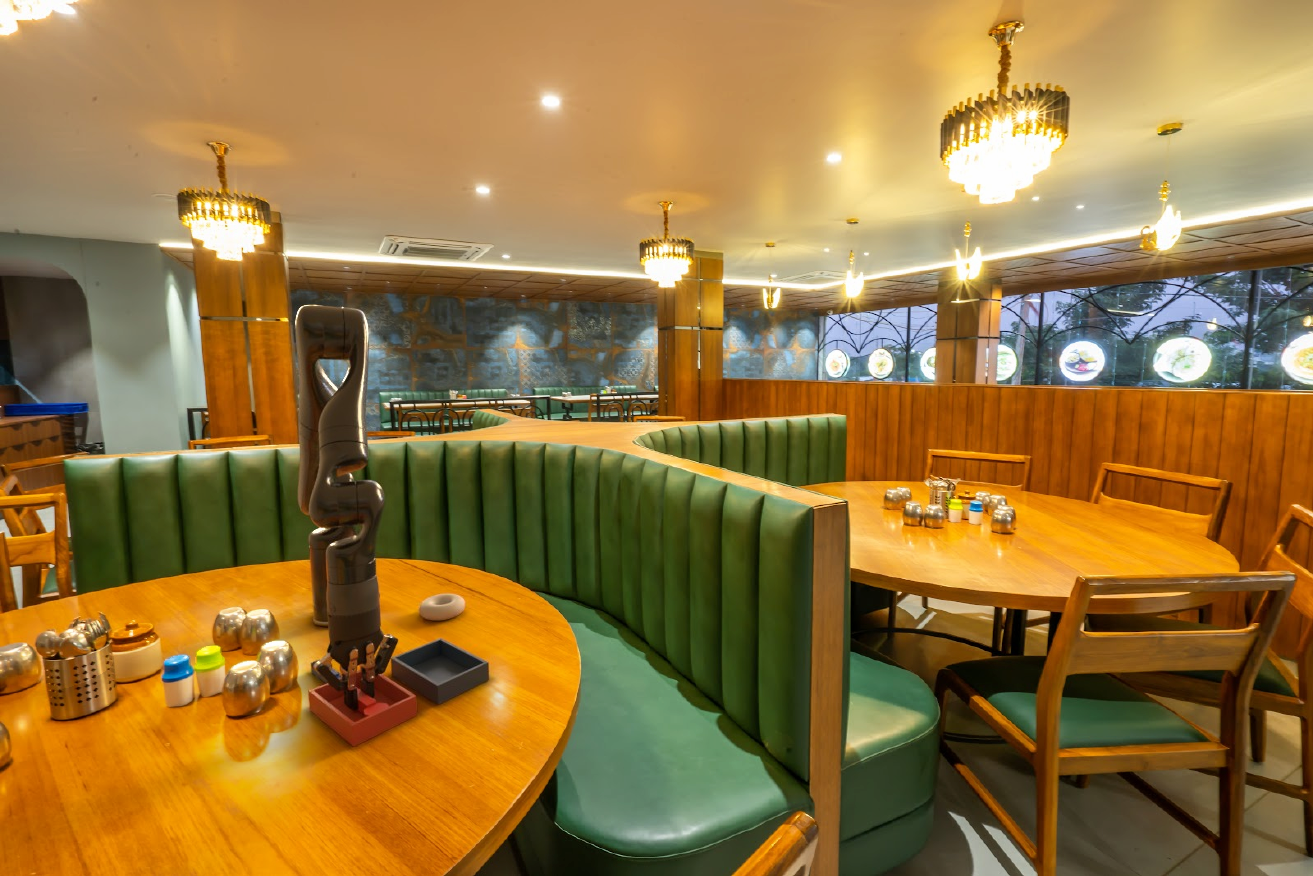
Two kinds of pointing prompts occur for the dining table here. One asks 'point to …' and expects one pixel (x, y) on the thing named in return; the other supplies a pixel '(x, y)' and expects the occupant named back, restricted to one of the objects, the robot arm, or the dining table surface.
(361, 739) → the red tray
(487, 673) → the blue tray
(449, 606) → the donut
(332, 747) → the dining table surface
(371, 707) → the red spoon
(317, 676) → the blue spoon
